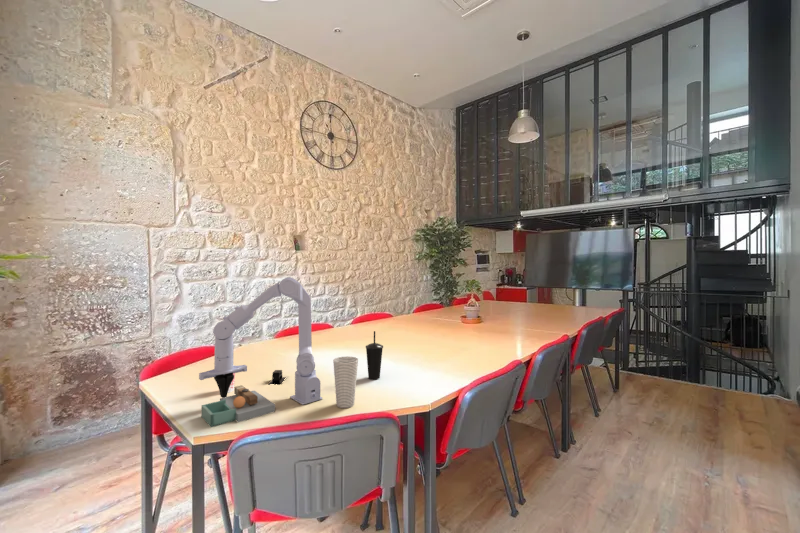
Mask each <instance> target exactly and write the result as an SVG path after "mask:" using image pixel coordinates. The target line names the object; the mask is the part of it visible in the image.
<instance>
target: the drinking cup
mask: <svg viewBox="0 0 800 533" xmlns="http://www.w3.org/2000/svg"><path fill="white" fill-rule="evenodd" d="M365 349H366V350H365V351H366V364H367V374H368V375H367V376H368V379H369V380H372V381H373V380H379V379H380V378H381V370H382V369H381V368H382V358H383V357H382V356H383V349H384V345H382V344H380V343H377V342H376V331H373V342H371V343H368V344H366V345H365Z"/></svg>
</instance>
